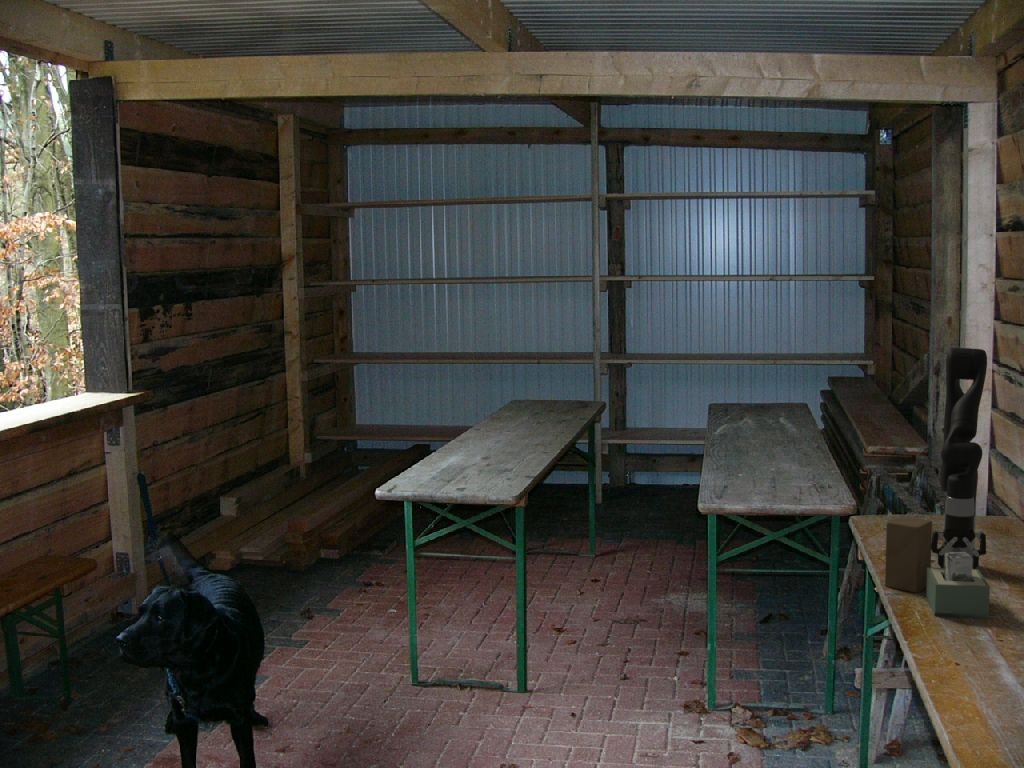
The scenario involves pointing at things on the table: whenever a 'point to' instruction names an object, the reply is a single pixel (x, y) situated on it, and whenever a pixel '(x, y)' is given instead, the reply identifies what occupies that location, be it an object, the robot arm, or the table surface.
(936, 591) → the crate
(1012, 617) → the table surface
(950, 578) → the syrup box
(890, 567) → the wooden block
